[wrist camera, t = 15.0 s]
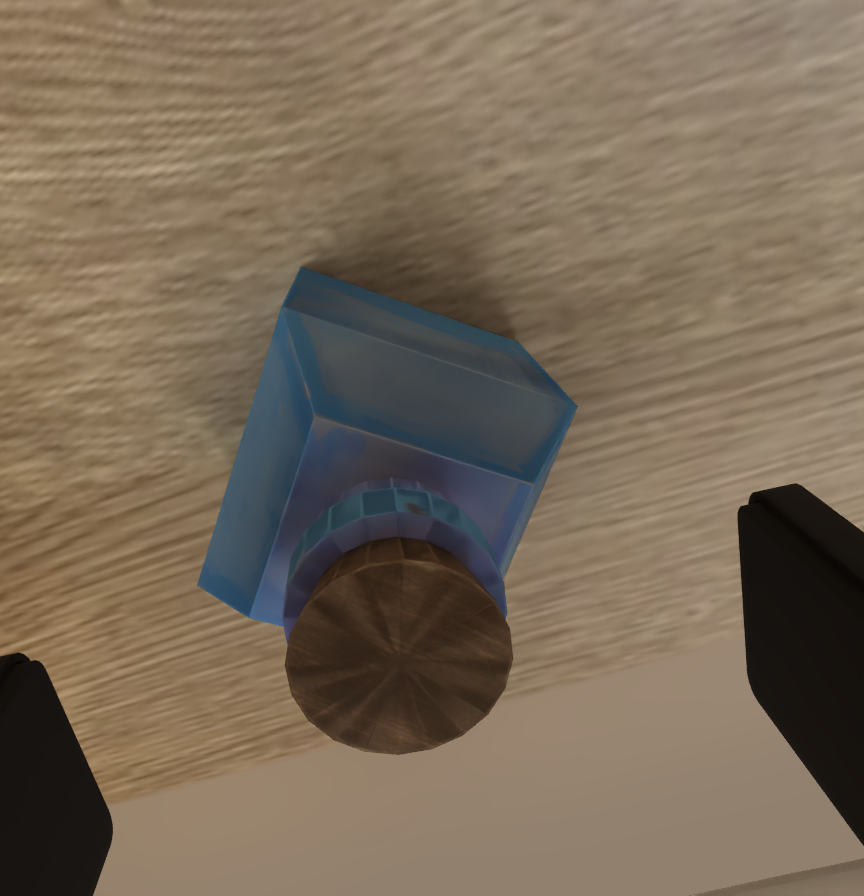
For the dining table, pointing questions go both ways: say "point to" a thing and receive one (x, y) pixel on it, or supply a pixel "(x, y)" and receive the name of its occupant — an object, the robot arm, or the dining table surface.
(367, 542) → the perfume bottle
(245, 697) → the dining table surface
